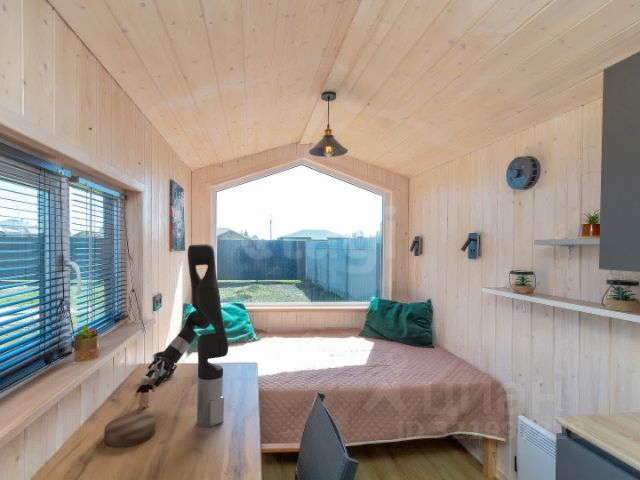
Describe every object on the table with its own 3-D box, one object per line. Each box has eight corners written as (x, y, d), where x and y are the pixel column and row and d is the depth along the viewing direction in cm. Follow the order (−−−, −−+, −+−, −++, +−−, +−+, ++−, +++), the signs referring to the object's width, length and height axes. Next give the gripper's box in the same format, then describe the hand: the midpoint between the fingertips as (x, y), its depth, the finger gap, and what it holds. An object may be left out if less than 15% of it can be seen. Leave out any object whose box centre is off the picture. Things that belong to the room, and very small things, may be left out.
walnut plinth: (164, 434, 131) (164, 422, 131) (116, 453, 118) (117, 441, 118) (142, 419, 141) (142, 409, 141) (96, 436, 128) (96, 425, 128)
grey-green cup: (179, 375, 188) (179, 351, 188) (165, 382, 178) (166, 357, 178) (162, 373, 191) (162, 349, 191) (148, 380, 181) (148, 355, 181)
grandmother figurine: (137, 411, 148) (138, 379, 148) (133, 408, 150) (133, 377, 150) (156, 405, 154) (157, 374, 154) (151, 402, 156) (152, 372, 156)
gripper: (162, 341, 165) (135, 374, 156) (179, 348, 156) (152, 382, 147) (173, 351, 169) (147, 383, 160) (190, 357, 160) (164, 392, 151)
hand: (149, 383), depth 153 cm, fingers open, 8 cm apart
